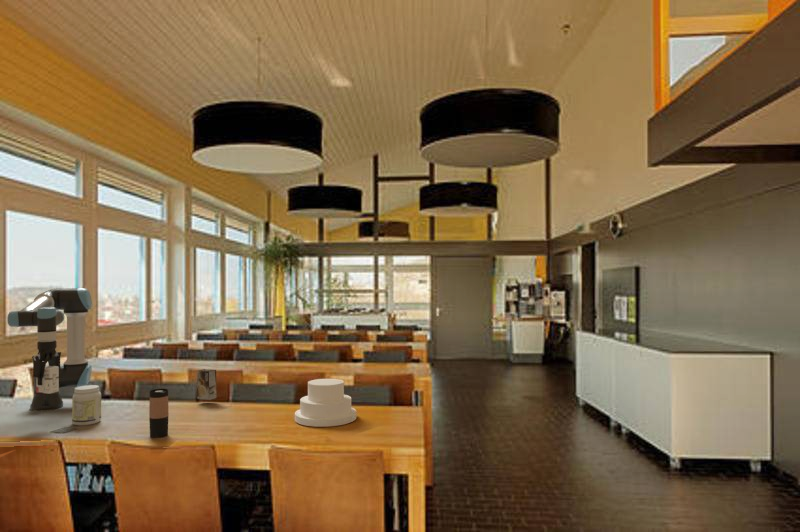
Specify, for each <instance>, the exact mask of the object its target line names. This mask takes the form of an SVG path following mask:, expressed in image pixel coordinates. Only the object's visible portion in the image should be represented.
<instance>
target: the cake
mask: <svg viewBox="0 0 800 532" xmlns="http://www.w3.org/2000/svg"><path fill="white" fill-rule="evenodd" d="M357 417H358V416H357V410H356V408H354V407H352V397H351V396H350V395H348V394H345V381H344V380H343V379H340V378H317V379H313V380H312V379H311V380H308V381H307V395H304V396H302V397H301V398H300V399H299V409H297V410H296V411H295V412H294V422H295V423H296V424H299V425H301V426H307V427H313V428H314V427H316V428H317V427H319V428H321V427H322V428H324V427H325V428H326V427H328V428H329V427H337V426H342V425H347V424H349V423H352V422H354V421H355V420H356V419H357Z"/></svg>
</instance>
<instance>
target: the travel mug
mask: <svg viewBox="0 0 800 532" xmlns="http://www.w3.org/2000/svg"><path fill="white" fill-rule="evenodd" d="M148 409H149V413H148V414H149V417H148V418H149V438H152V439H159V438H164V437H168V434H169V389H168V388H154V389H151V390H149V408H148Z"/></svg>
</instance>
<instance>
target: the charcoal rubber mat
mask: <svg viewBox="0 0 800 532" xmlns="http://www.w3.org/2000/svg"><path fill="white" fill-rule="evenodd" d="M75 430H78V427H73V426H63V427H60V428H57V429H53V430H51V431H49V433H50V432H54V433H53V434H61V433H62V434H65V433H69V432H73V431H75ZM62 434H61V435H62Z"/></svg>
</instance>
